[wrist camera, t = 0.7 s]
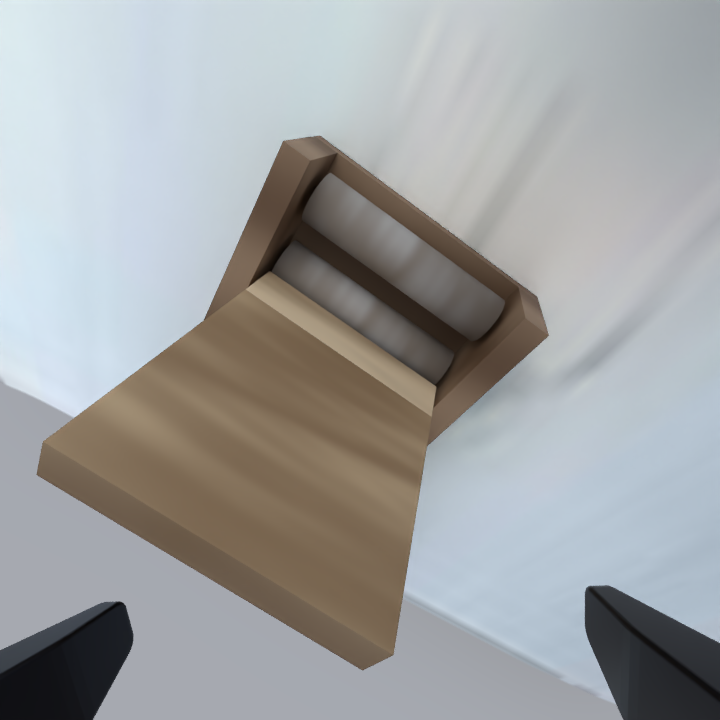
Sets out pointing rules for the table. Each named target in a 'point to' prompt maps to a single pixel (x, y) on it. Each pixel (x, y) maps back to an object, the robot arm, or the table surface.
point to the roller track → (291, 227)
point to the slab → (267, 464)
